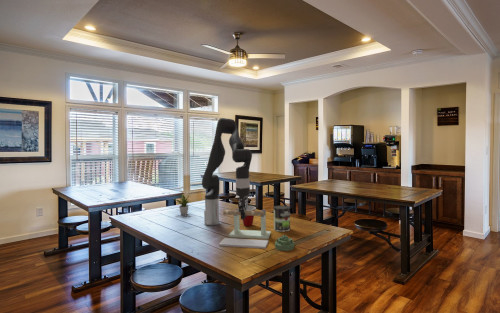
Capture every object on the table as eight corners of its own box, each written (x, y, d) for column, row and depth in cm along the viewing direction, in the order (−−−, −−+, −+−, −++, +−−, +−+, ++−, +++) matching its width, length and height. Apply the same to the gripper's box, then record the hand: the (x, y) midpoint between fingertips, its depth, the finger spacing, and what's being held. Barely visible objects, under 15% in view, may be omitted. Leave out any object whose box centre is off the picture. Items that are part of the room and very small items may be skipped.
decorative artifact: (296, 250, 150) (291, 243, 160) (296, 236, 150) (290, 230, 160) (277, 251, 148) (272, 245, 158) (277, 238, 148) (272, 232, 158)
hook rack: (228, 237, 173) (228, 211, 172) (233, 231, 182) (233, 207, 182) (268, 239, 168) (267, 212, 167) (270, 233, 177) (270, 208, 177)
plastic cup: (245, 228, 189) (244, 209, 189) (237, 224, 199) (236, 206, 198) (259, 225, 195) (259, 207, 194) (251, 222, 204) (250, 204, 204)
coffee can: (293, 230, 184) (293, 207, 183) (279, 232, 179) (279, 209, 178) (284, 226, 193) (283, 204, 192) (270, 228, 188) (270, 206, 187)
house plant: (185, 210, 244) (185, 190, 243) (197, 212, 236) (197, 192, 235) (171, 214, 232) (171, 193, 231) (183, 216, 224) (183, 194, 223)
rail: (223, 215, 161) (223, 210, 161) (224, 214, 163) (224, 209, 163) (263, 216, 156) (263, 211, 156) (264, 215, 159) (264, 210, 158)
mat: (218, 245, 158) (218, 243, 158) (224, 239, 168) (224, 238, 168) (265, 248, 153) (265, 246, 153) (268, 242, 163) (268, 240, 163)
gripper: (239, 184, 167) (240, 215, 167) (232, 188, 153) (233, 221, 154) (252, 184, 165) (253, 215, 166) (246, 188, 151) (247, 222, 152)
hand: (243, 218), depth 160 cm, fingers closed on rail, 2 cm apart
